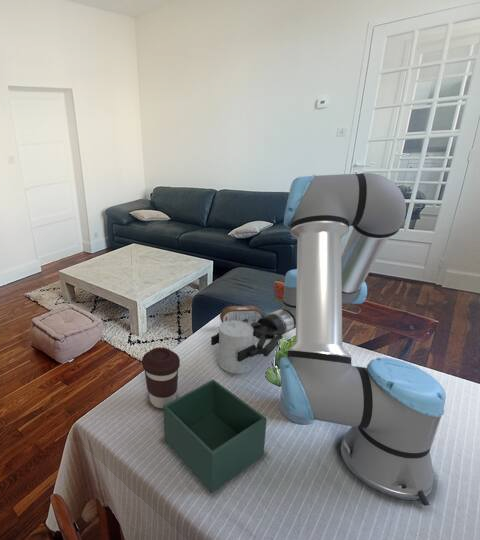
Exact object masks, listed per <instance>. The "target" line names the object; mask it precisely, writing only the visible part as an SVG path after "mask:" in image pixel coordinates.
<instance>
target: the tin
mask: <svg viewBox="0 0 480 540" xmlns="http://www.w3.org/2000/svg"><path fill="white" fill-rule="evenodd" d="M262 317H264V314H263V312H262V310H261V309H260V308H259V307H258V306H256V305H231V306H226V307H225V308H223V309H222V310H221V312H220V314H219V319H220V321H221V323H223V322H225V321H229V320H237V321H242V320H244V319H248V322H250V323H254V322H258V320H259V319H260V318H262Z"/></svg>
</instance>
